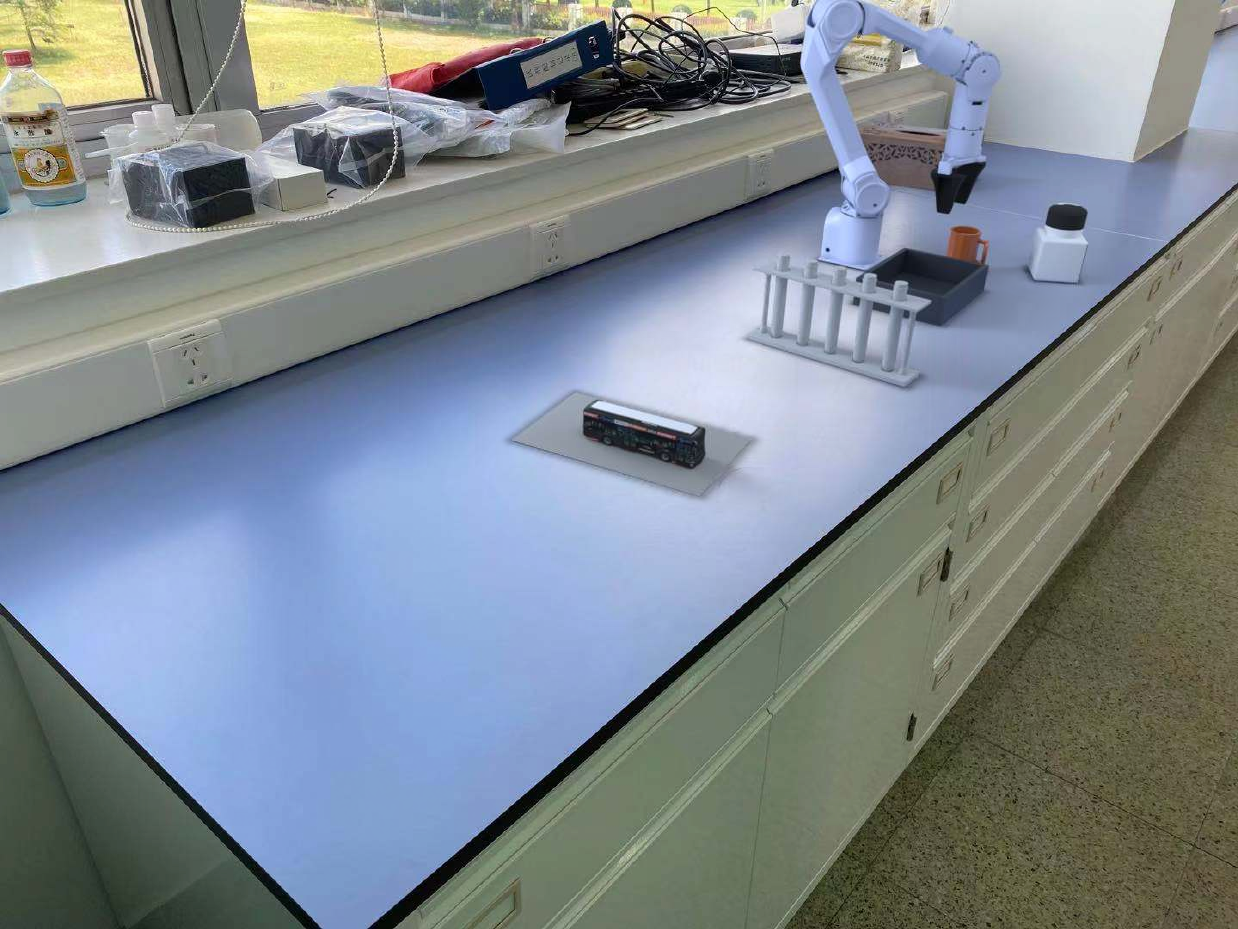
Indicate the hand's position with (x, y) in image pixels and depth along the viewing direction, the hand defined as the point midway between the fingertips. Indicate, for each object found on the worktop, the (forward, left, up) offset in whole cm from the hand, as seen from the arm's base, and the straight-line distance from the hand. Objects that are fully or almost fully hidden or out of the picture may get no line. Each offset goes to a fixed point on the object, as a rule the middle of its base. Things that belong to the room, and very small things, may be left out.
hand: (951, 207), depth 167 cm
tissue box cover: (-27, +50, -10) cm, 58 cm away
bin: (+4, -20, -9) cm, 22 cm away
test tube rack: (+3, -50, -10) cm, 51 cm away
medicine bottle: (+18, +4, -10) cm, 21 cm away
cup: (+4, -3, -9) cm, 11 cm away
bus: (-5, -86, -10) cm, 87 cm away
